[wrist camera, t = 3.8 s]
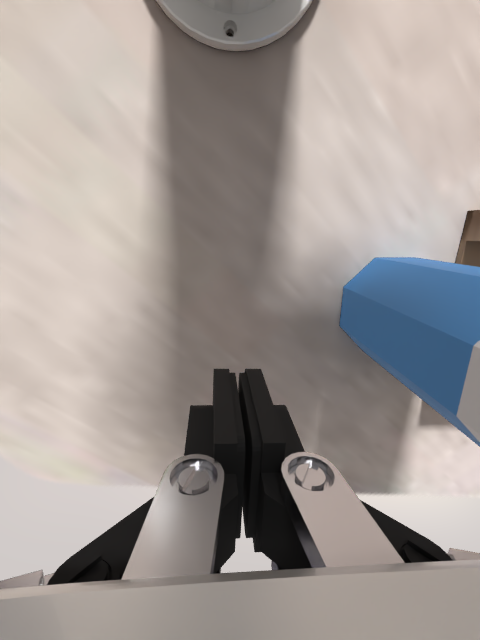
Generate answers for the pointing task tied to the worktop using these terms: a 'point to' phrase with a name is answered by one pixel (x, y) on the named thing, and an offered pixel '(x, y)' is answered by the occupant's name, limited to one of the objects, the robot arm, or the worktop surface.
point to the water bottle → (422, 330)
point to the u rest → (470, 241)
